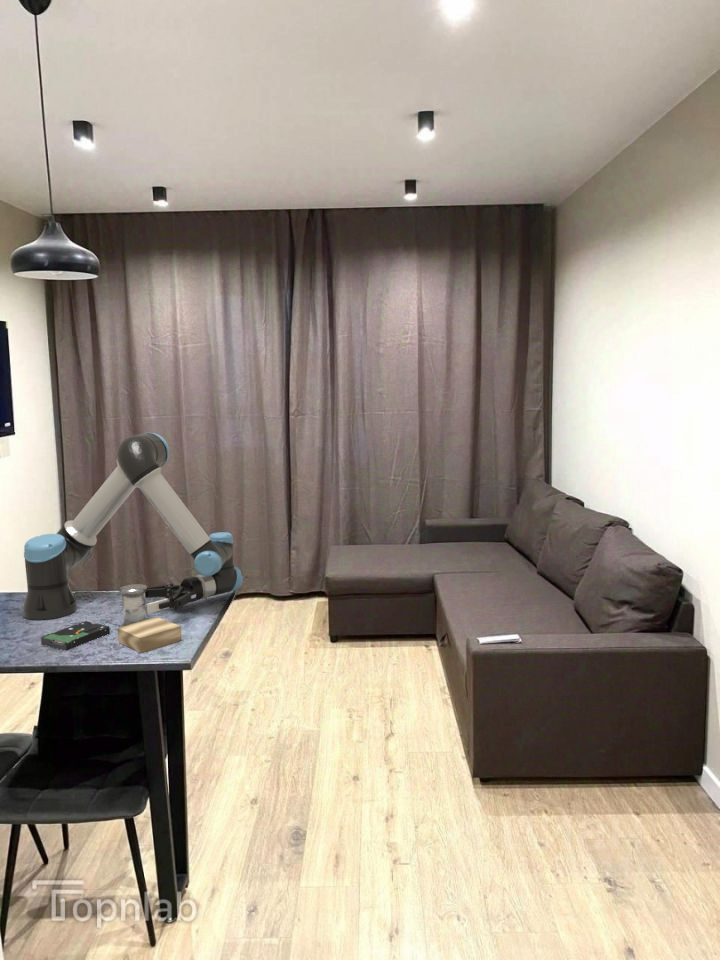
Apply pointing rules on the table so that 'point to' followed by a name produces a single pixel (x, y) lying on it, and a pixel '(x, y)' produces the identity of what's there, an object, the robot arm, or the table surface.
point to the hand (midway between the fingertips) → (135, 604)
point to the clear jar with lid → (133, 603)
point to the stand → (149, 634)
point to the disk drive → (75, 635)
